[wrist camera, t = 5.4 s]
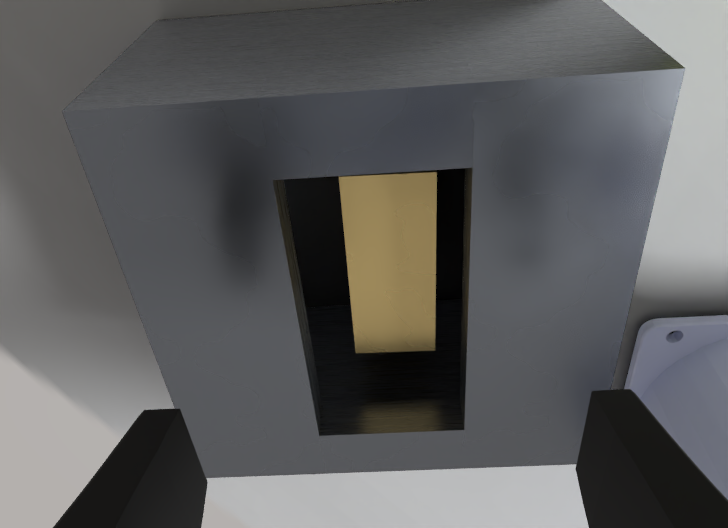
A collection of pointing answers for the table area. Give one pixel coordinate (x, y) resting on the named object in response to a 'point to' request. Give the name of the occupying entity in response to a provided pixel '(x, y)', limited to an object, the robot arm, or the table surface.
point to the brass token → (391, 259)
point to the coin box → (373, 156)
